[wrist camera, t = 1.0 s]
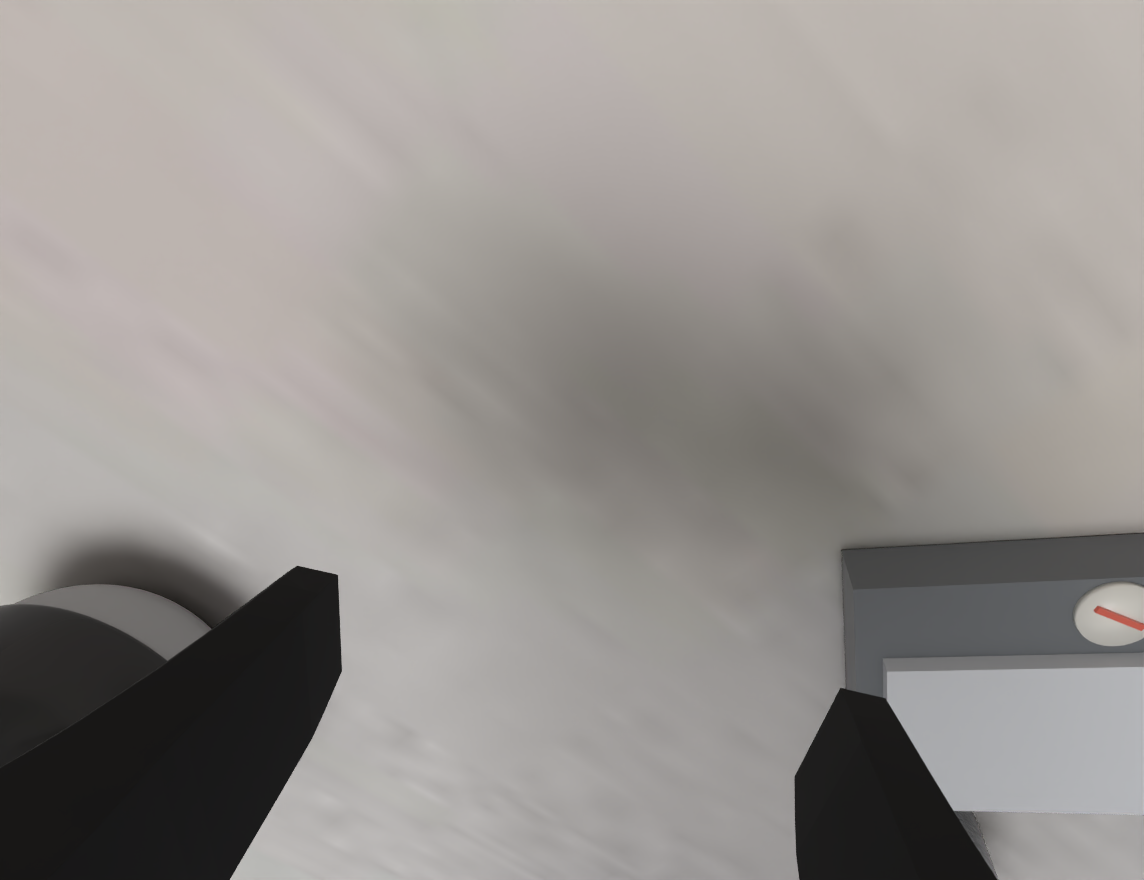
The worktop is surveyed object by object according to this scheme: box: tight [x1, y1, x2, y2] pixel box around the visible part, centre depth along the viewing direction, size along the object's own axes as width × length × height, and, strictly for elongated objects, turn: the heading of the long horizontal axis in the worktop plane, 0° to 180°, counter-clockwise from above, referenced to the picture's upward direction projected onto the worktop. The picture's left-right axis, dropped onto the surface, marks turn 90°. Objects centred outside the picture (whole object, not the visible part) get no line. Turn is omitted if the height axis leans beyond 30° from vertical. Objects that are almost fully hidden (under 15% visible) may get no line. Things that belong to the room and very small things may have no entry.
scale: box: [841, 533, 1144, 815], centre depth 19 cm, size 8×12×2 cm, turn 100°
